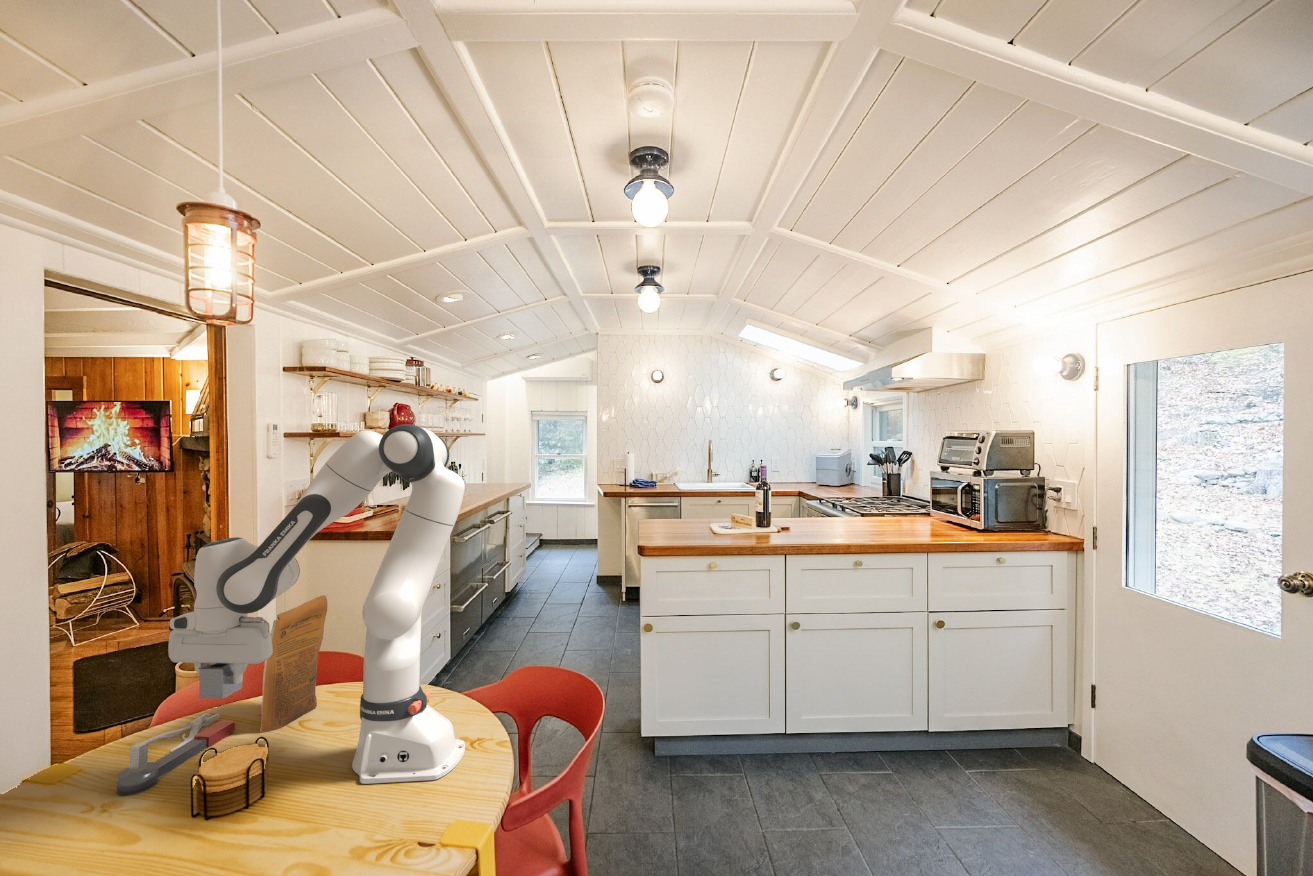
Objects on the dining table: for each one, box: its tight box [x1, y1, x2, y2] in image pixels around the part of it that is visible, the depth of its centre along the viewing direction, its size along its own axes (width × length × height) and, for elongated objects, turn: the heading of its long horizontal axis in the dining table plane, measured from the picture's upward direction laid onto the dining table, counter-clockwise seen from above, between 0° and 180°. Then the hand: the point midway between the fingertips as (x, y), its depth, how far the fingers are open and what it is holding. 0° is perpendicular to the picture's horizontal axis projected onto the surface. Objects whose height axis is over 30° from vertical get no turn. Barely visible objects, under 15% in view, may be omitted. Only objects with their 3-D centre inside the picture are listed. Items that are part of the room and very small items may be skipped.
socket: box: [198, 663, 243, 700], centre depth 116 cm, size 5×5×6 cm
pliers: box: [143, 712, 220, 753], centre depth 128 cm, size 10×2×15 cm
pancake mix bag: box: [259, 594, 328, 733], centre depth 137 cm, size 7×19×28 cm, turn 169°
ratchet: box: [116, 720, 236, 797], centre depth 117 cm, size 6×24×8 cm, turn 176°
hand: (221, 682), depth 116 cm, fingers closed on socket, 5 cm apart
